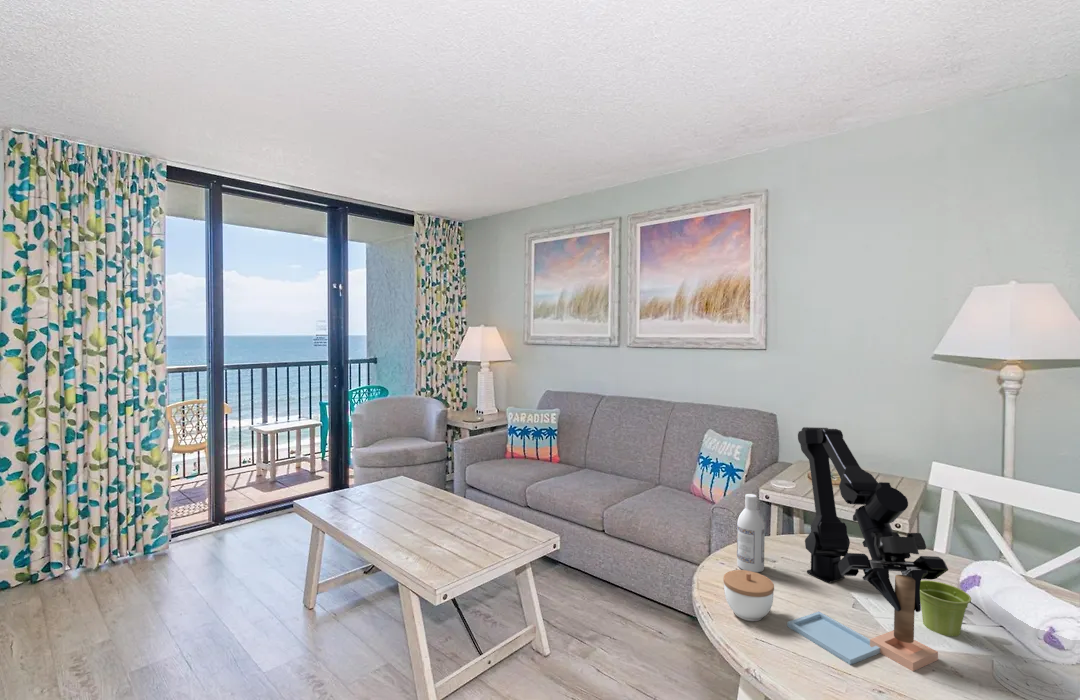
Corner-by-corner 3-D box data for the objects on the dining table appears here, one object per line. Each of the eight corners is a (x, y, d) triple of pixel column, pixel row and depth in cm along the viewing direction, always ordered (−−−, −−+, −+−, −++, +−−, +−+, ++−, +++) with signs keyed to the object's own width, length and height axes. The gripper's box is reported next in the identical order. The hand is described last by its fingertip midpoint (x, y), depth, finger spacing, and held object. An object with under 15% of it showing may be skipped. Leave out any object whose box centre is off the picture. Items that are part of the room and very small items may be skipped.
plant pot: (944, 617, 113) (944, 579, 113) (982, 643, 103) (983, 601, 103) (903, 618, 113) (904, 580, 112) (938, 644, 103) (939, 602, 103)
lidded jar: (735, 596, 122) (735, 558, 122) (781, 613, 114) (781, 573, 114) (714, 613, 115) (715, 573, 114) (762, 633, 107) (762, 590, 107)
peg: (890, 635, 100) (891, 576, 99) (900, 631, 101) (901, 573, 101) (907, 644, 97) (908, 583, 96) (917, 640, 98) (918, 580, 98)
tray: (787, 629, 108) (787, 621, 108) (818, 618, 113) (818, 611, 113) (850, 668, 96) (850, 659, 96) (883, 654, 100) (883, 646, 100)
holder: (869, 650, 101) (870, 639, 101) (894, 640, 104) (894, 629, 104) (912, 674, 94) (913, 662, 94) (937, 662, 97) (938, 651, 97)
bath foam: (754, 560, 141) (755, 490, 141) (769, 572, 135) (770, 498, 134) (731, 562, 140) (732, 492, 140) (745, 574, 134) (746, 500, 133)
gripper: (845, 514, 103) (875, 595, 93) (942, 518, 101) (984, 600, 91) (827, 537, 111) (852, 613, 101) (916, 540, 109) (952, 618, 99)
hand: (908, 611), depth 97 cm, fingers closed on peg, 3 cm apart
